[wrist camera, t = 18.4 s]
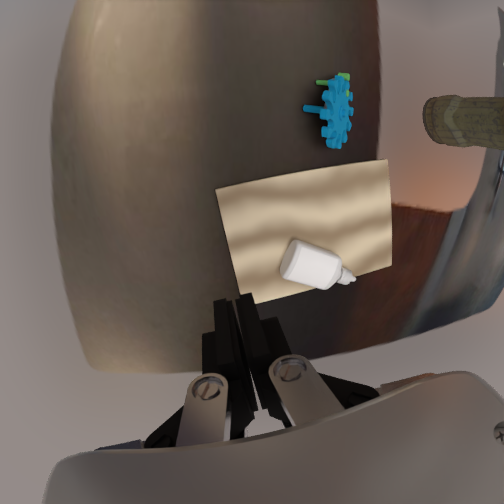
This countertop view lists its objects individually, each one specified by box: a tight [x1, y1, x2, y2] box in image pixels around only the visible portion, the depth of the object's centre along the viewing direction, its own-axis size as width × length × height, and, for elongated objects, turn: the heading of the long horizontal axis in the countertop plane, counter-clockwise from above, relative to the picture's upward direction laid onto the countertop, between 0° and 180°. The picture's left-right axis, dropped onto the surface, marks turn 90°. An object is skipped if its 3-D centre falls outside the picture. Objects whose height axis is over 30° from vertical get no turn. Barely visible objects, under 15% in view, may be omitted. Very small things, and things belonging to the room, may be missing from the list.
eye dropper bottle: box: [280, 240, 356, 290], centre depth 40 cm, size 4×6×12 cm
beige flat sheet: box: [215, 159, 392, 304], centre depth 40 cm, size 18×26×1 cm
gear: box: [303, 73, 353, 149], centre depth 32 cm, size 11×6×10 cm
